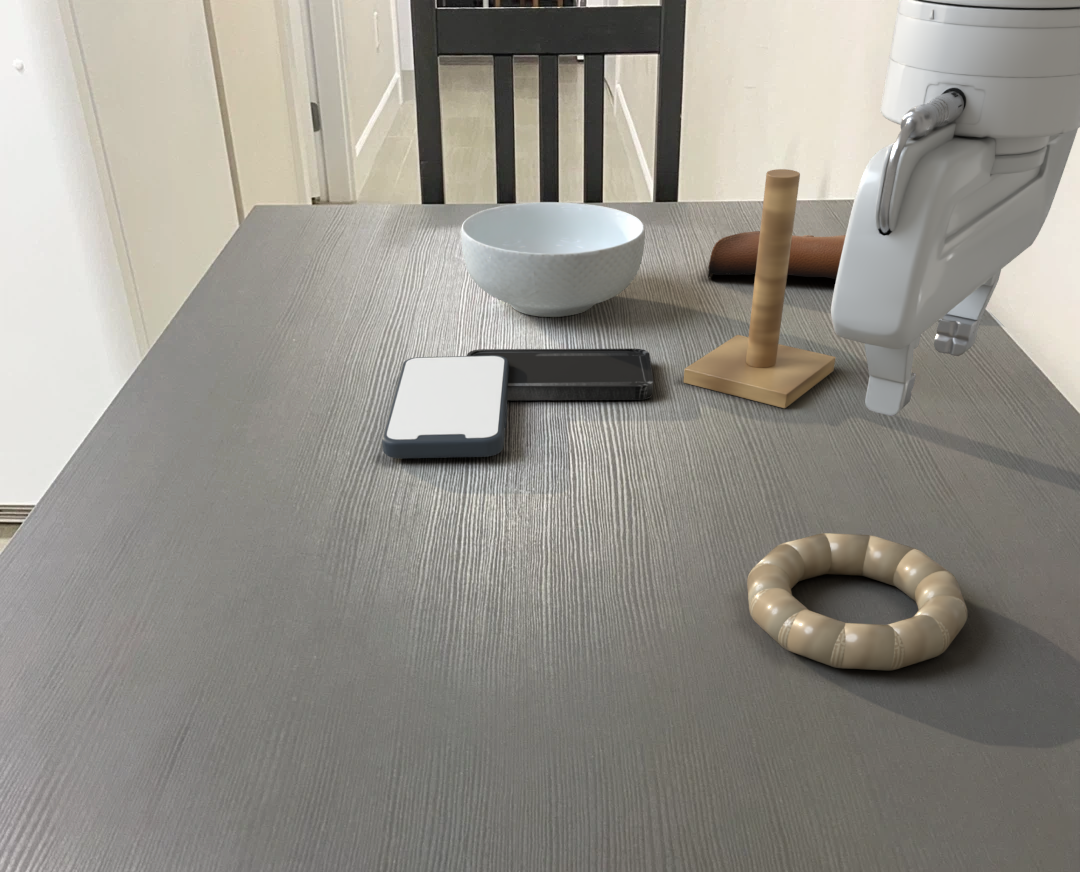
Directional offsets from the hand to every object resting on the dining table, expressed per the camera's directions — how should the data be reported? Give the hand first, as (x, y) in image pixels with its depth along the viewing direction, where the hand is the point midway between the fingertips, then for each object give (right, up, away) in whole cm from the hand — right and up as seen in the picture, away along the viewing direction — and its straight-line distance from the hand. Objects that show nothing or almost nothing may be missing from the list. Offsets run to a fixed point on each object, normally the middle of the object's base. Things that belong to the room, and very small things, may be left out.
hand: (920, 378), depth 57 cm
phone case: (-27, +5, +26) cm, 38 cm away
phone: (-19, +9, +31) cm, 38 cm away
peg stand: (-2, +10, +32) cm, 33 cm away
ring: (-2, -11, +4) cm, 12 cm away
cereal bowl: (-19, +21, +46) cm, 54 cm away
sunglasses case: (+6, +26, +51) cm, 57 cm away
